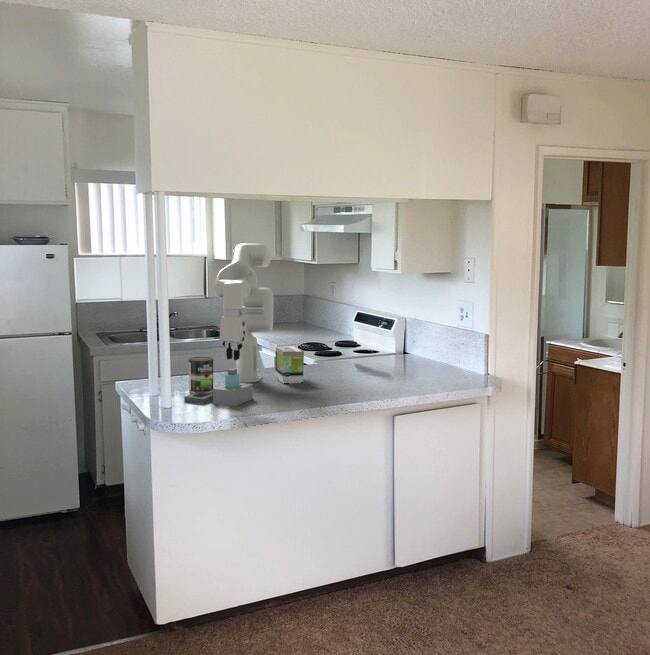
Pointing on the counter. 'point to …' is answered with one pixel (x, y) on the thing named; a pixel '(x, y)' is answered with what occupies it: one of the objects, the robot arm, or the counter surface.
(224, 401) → the port
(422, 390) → the counter surface
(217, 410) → the counter surface
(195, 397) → the holster
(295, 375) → the tea box
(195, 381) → the coffee can
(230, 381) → the plug
